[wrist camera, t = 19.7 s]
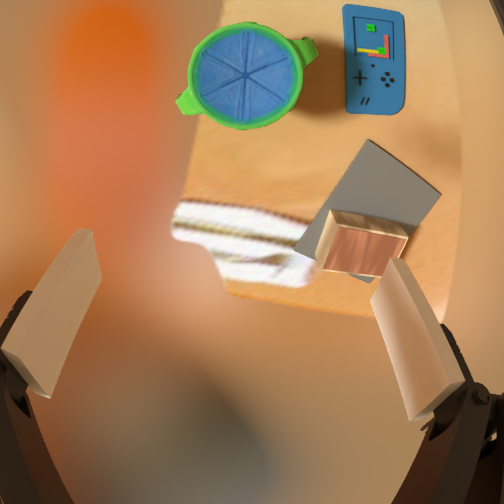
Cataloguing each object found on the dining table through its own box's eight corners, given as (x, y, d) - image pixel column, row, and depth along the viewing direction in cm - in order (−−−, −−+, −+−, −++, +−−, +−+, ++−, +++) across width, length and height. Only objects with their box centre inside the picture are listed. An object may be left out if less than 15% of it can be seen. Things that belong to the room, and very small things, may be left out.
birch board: (319, 270, 44) (388, 279, 45) (336, 224, 39) (409, 237, 41) (314, 253, 47) (380, 263, 49) (329, 209, 43) (398, 223, 44)
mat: (367, 139, 37) (368, 140, 36) (439, 193, 41) (440, 195, 41) (293, 248, 47) (293, 250, 47) (368, 281, 52) (369, 283, 51)
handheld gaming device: (347, 113, 34) (343, 3, 26) (345, 112, 35) (340, 4, 27) (404, 117, 34) (403, 12, 25) (400, 115, 35) (400, 13, 26)
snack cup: (202, 130, 37) (188, 154, 28) (171, 58, 31) (145, 60, 22) (320, 92, 34) (343, 104, 25) (293, 16, 28) (309, 2, 20)
